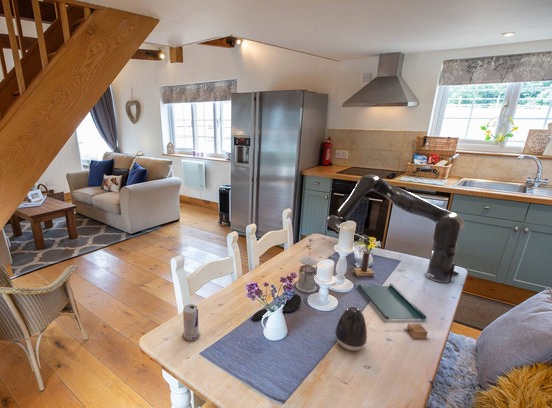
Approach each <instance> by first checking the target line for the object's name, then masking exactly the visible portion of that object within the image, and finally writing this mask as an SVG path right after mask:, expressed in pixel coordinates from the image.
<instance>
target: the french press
mask: <svg viewBox="0 0 552 408" xmlns="http://www.w3.org/2000/svg"><path fill="white" fill-rule="evenodd" d="M313 241H314V240H313V238H310V237H309V238H308V242H309V246H311V244H312V243H313ZM308 250H309V251H308V256H302V257H300V258H299V263H300V264H302V265H300V266H299V269H298V280H297V283H295V287H296V289H297V290H299V291H300V292H303V293H309V294H310V293H314V292H316V291H317V289H318V286H317V285H316V281H315V280H314V278H315V277H316V276H317V269H316V268H315V266H316V265H317V264H318V263H319V261H318V260H317V259H316V258H315V257H312V256H310V255H311V249H308ZM315 275H316V276H315ZM314 276H315V277H314Z"/></svg>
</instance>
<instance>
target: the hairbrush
mask: <svg viewBox="0 0 552 408" xmlns="http://www.w3.org/2000/svg"><path fill="white" fill-rule="evenodd" d="M293 294H294V295H293V297H292V298H291V299H290V300H287V301H286V304H285V306H284V307H283V312H282V313H283V314H286V313H287V314H288V313H289V314H290V313H293V312H295V311H296V310H297V309H299V307H300V306H301V304H302V298H301V295H300V294H298V293H296V292H293ZM266 312H267V310H266V309H265V308H263V309H260V310H257V311H256V312H255V313H254V314H253V316H252V321H253V322H256V321H260V320H262V319H263V318H262V316H263V315H264V314H265V313H266Z"/></svg>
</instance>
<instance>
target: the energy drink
mask: <svg viewBox="0 0 552 408" xmlns="http://www.w3.org/2000/svg"><path fill="white" fill-rule="evenodd" d="M182 315H183V319H182V320H183V337H184V339H185V340H187V341H190V342H191V341H195V340H197V338H199V308H198V307H197V305H195V304H186V305H185V306H184V307H183V311H182Z"/></svg>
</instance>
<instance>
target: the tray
mask: <svg viewBox="0 0 552 408" xmlns="http://www.w3.org/2000/svg"><path fill="white" fill-rule="evenodd" d="M357 287H358V288H359V290H360V291H361V292H362V293H363V294H364V295H365V296H366V298H367V299H368V300H369V301H370V303H371V304H372V305H373V306H374V308H375V309H376V310H377V311H378V313H380V314H381V316H382V317H383V318H384V320H426V319H427V316H426V315H425V314H424V312H422V310H420V309H419V307H417V306H416V305H415V304H414V303H413V302H412V301H411V300H410V299H409V298H408V297H407V296H405V294H403V292H401V291H400V289H398V288H397V287H396V286H395V285H394V284H393V283H389V285H371V286H370V285H366V286H365V285H362V284H361V283H358V284H357Z"/></svg>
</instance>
